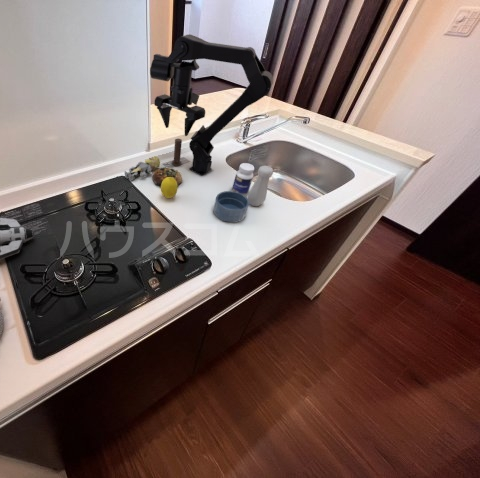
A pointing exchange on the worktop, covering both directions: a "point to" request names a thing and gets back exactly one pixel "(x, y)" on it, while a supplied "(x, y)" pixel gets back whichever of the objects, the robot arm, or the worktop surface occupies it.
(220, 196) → the bowl
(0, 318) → the dish
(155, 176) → the bread roll
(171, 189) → the lemon
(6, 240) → the toy spacecraft
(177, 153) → the muddler
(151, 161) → the toy
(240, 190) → the pill bottle
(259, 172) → the salt shaker
